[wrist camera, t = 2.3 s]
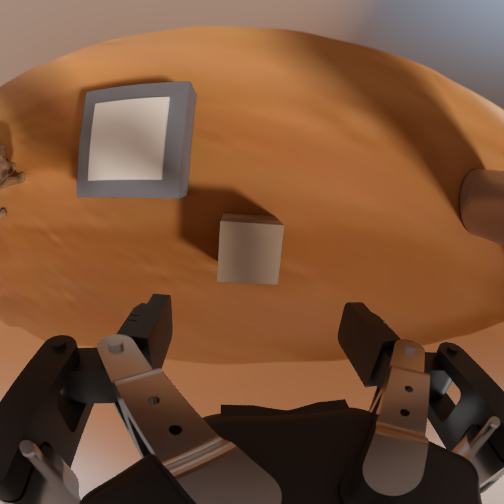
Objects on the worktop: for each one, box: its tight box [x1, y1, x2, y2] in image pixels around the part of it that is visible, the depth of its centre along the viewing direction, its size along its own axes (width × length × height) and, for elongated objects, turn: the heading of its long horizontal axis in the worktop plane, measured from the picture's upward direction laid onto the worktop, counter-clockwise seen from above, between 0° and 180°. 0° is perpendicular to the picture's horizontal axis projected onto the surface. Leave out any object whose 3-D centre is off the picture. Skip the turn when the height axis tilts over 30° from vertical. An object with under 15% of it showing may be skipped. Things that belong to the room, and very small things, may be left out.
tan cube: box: [217, 213, 284, 285], centre depth 24 cm, size 5×5×5 cm
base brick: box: [77, 82, 197, 199], centre depth 21 cm, size 10×10×4 cm
